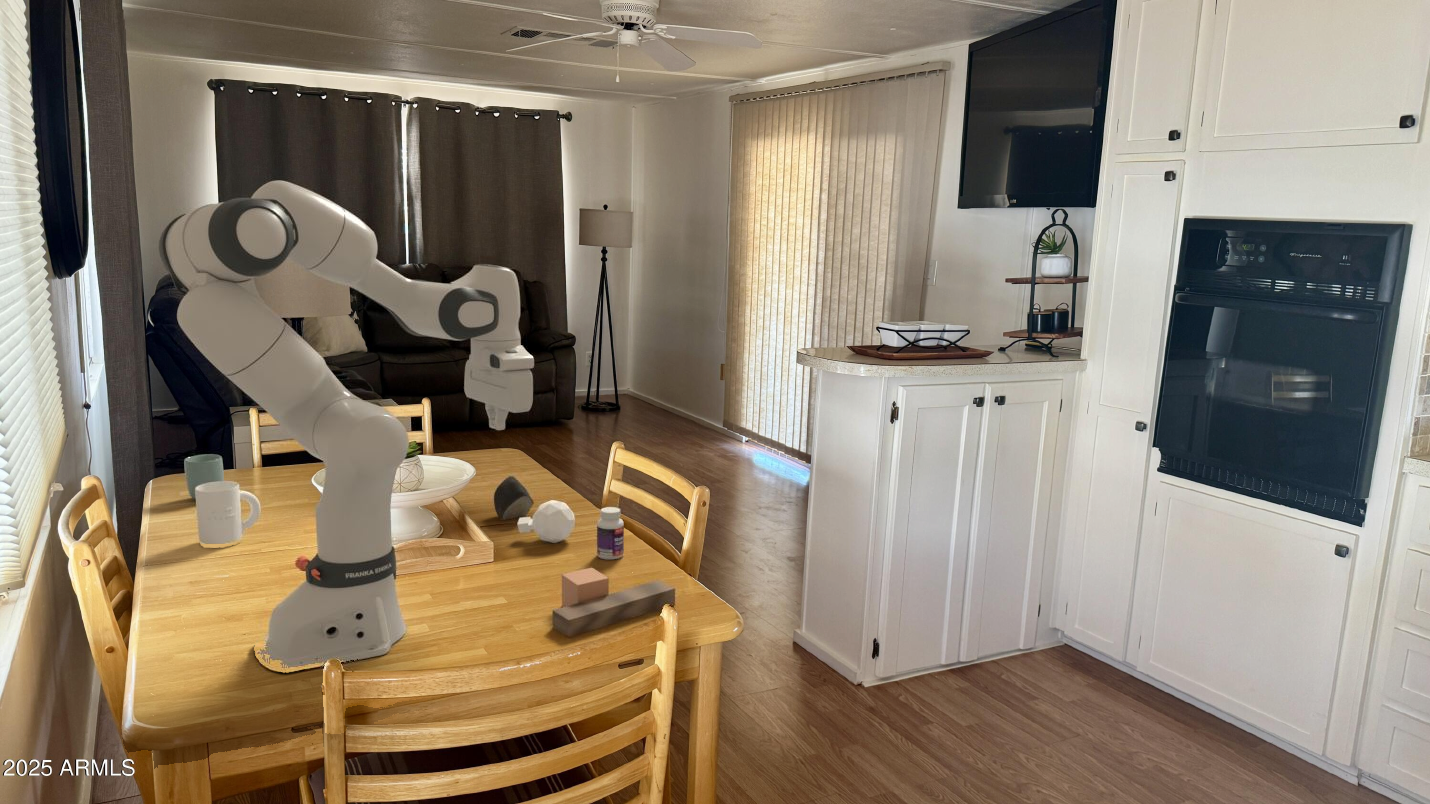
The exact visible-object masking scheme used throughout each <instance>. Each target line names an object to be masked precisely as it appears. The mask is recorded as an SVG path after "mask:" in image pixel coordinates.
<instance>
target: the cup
mask: <svg viewBox="0 0 1430 804" xmlns="http://www.w3.org/2000/svg"><path fill="white" fill-rule="evenodd" d="M183 461H184V462H183V463H184V475H185V482H186V483H185V484H186V489H187V492H188V495H189V496H190V497H191V499H193V500H194V499H196V497H195V488H196V487H197V486H199V485H202V484H205V483H210V482H218V481H225V479H224V477H225V476H224V475H225V474H224V463H223V457H222V456H221V455H219V454H215V453H214V454H213V453H210V454H206V453H205V454H197V455H193V456H188V457H186V458H184V460H183Z"/></svg>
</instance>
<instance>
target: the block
mask: <svg viewBox="0 0 1430 804" xmlns="http://www.w3.org/2000/svg"><path fill="white" fill-rule="evenodd" d="M609 585H610V582H609V576H608V577H607V576H606V575H605V574H604V573H601V572H600V571H598V570H596V569H595V568H593V567H589V568H584V569H579V570H575V571H574V570H573V571H570V572H566V573H562V574H561V606H562V607H566V606H569V605H573V604H576V603H580V602H583V601H587V600H590V599H594V598H597V597H601V596H604V595H608V594H610V590H609V589H610V588H609V587H610V586H609Z"/></svg>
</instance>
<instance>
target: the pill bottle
mask: <svg viewBox="0 0 1430 804" xmlns="http://www.w3.org/2000/svg"><path fill="white" fill-rule="evenodd" d="M624 528H625V525H624V521H623V519H622V518H621V508H619V507H614V506H607V507H603V508H601V509H600V519H599V520H597V522H596V555H597V557H598V558H600V559H601V560H609V561H611V560H619V559H620V558H622V557H623V556H624V548H625V546H624V541H625V539H624V538H625V536H624V535H625V533H624V531H625V529H624Z"/></svg>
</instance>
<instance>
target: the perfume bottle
mask: <svg viewBox="0 0 1430 804" xmlns="http://www.w3.org/2000/svg"><path fill="white" fill-rule="evenodd" d="M575 522H576V518H575V513H574V512H573V511H572V509H571V508H570V507H569V506H568V505H567V503H566V502H562V501H559V500H554V499H551V500H549V501H546V502H544V503H541V504H539V506H538V507H537V509H536V510H535V512H534V514H533V515H532V518H531V516H522V517H518V521H517V528H518V531H519V533H520V534H523V533H531V532H532V530H533V532H535V534H536V535H537V536H538V537H539V538H540V540H541V541H544V542H547V543H548V542H549V543H551V544H557V543H559V542H561V541H564V540H566V539H568V537H569V536H570V535H571V533H572V531H573V529H575V525H576V524H575Z"/></svg>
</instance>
